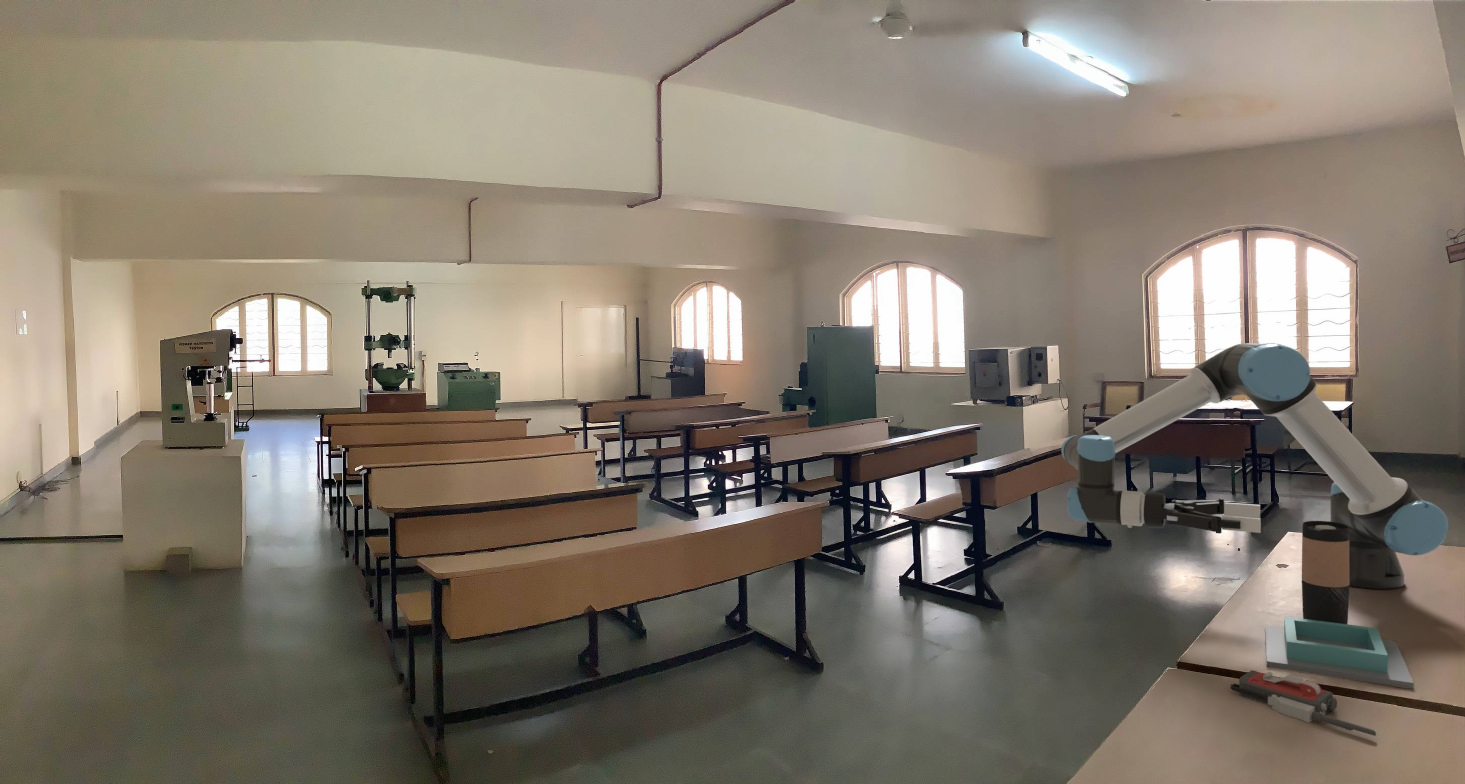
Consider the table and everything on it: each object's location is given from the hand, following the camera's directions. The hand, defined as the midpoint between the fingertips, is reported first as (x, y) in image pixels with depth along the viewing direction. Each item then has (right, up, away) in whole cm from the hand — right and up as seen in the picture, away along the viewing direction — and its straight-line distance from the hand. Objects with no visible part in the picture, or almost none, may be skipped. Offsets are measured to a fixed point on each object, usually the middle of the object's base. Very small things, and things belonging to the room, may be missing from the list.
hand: (1260, 518), depth 165 cm
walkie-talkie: (-18, -25, -38) cm, 49 cm away
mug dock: (0, -22, -19) cm, 29 cm away
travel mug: (+10, -21, -4) cm, 23 cm away
